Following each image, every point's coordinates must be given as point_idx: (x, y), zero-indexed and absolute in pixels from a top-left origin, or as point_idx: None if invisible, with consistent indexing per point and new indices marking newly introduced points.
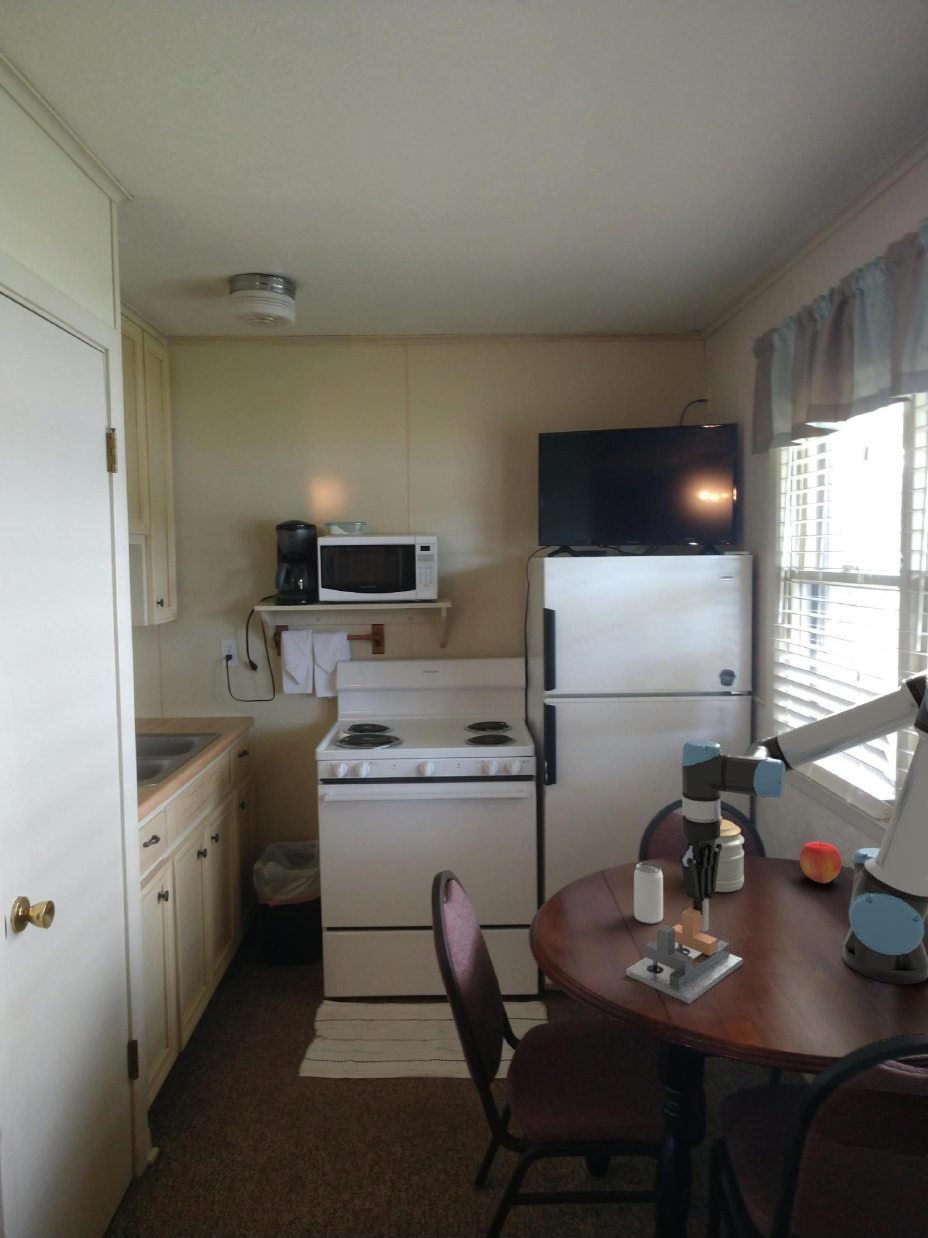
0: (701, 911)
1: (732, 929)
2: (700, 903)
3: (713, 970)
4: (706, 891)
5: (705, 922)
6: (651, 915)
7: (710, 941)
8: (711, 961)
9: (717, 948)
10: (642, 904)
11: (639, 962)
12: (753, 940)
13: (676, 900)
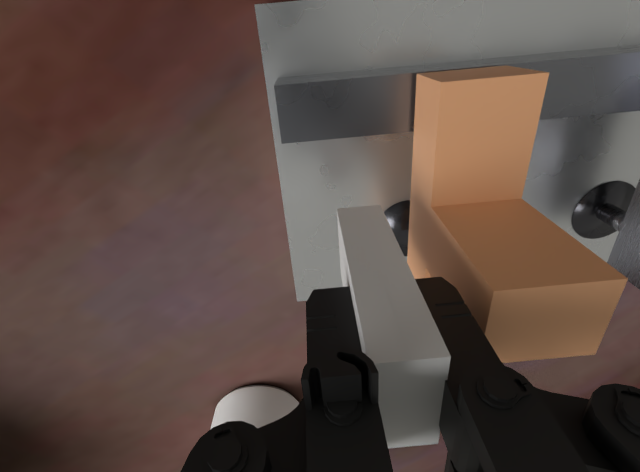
0: (425, 299)
1: (45, 231)
2: (473, 356)
3: (472, 39)
4: (387, 463)
5: (386, 233)
6: (284, 415)
7: (508, 94)
8: (471, 63)
9: (424, 74)
10: None
11: None
12: (19, 116)
13: (92, 430)
